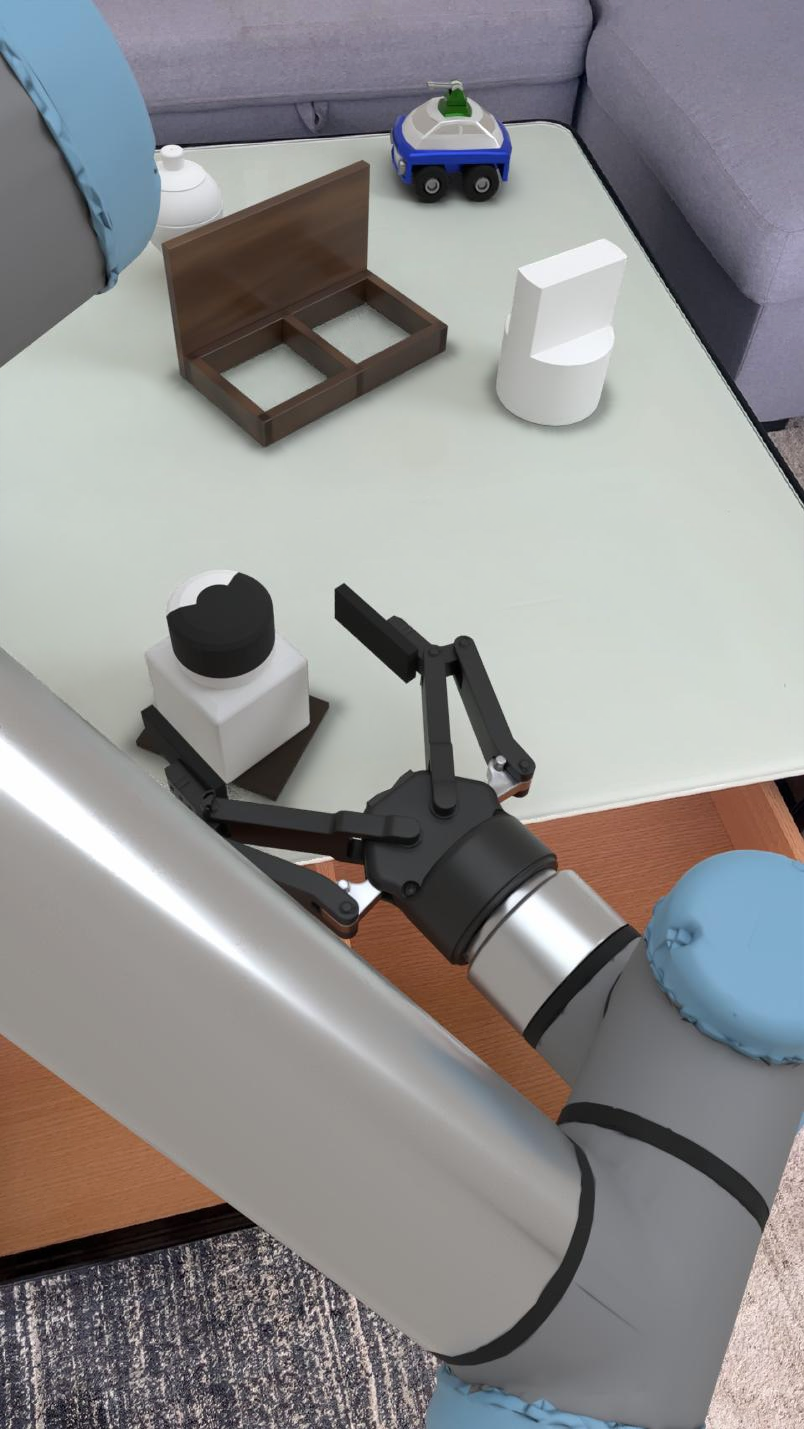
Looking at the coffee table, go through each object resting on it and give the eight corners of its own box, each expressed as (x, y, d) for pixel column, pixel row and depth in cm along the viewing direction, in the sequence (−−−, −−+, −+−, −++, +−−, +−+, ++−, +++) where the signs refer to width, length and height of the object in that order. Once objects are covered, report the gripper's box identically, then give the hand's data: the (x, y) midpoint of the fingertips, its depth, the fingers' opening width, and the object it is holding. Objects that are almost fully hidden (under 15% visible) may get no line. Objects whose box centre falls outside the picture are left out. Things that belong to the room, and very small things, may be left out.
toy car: (385, 156, 112) (388, 59, 104) (496, 153, 113) (508, 58, 106) (397, 204, 107) (402, 107, 99) (513, 201, 108) (527, 104, 100)
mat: (136, 745, 69) (135, 740, 68) (197, 657, 73) (196, 652, 73) (275, 801, 67) (275, 796, 66) (329, 707, 71) (329, 702, 71)
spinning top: (232, 257, 100) (221, 127, 90) (227, 306, 96) (215, 175, 86) (149, 255, 100) (129, 124, 90) (141, 304, 95) (119, 172, 85)
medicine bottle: (312, 725, 70) (308, 605, 60) (226, 787, 67) (207, 672, 57) (243, 660, 72) (228, 536, 62) (157, 718, 69) (128, 596, 59)
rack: (445, 350, 94) (459, 221, 84) (264, 447, 85) (255, 317, 76) (359, 288, 98) (362, 159, 88) (179, 375, 90) (160, 243, 80)
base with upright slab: (538, 439, 88) (564, 311, 78) (474, 378, 92) (491, 249, 82) (621, 403, 91) (656, 276, 81) (556, 346, 95) (582, 218, 85)
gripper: (320, 1110, 51) (74, 814, 59) (654, 811, 61) (405, 596, 69) (318, 1063, 44) (43, 740, 53) (690, 740, 55) (412, 512, 63)
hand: (248, 658), depth 61 cm, fingers open, 13 cm apart
